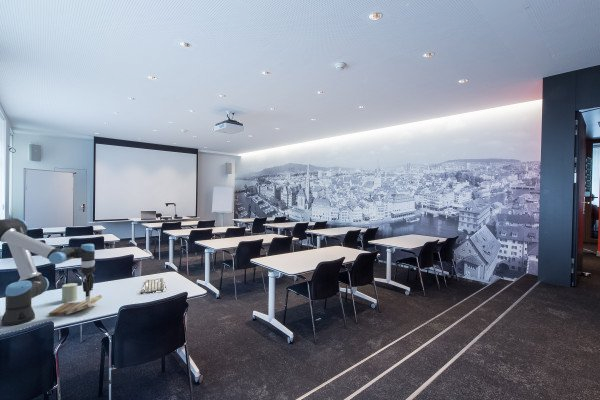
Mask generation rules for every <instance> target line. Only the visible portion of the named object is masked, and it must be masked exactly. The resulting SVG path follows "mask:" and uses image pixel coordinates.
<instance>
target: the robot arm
mask: <svg viewBox="0 0 600 400" xmlns="http://www.w3.org/2000/svg"><path fill="white" fill-rule="evenodd" d="M28 230H29V225H28V223H27V221H25V220H23V219H21V218H18V217H17V218H14V217H13V218H11V217H10V218H4V219H0V242H1V243H5V244H7V246H8V248H9V250H10V254H11V256H12V259H13V261H14V264H15V266H16V270H17V271H18V274H19V277H20V278H19V279H18V281H15V282H12V283H10V284H8V285H7V286H6V288H5V291H4V294H5V310H4V313H3V316H2V318H1V320H0V325H1V326H3V327H4V326H6V327H7V326H8V327H9V326H18V325H22V324H25V323H28V322H30V321H33V320H34V319H36V313H35V311H34V309H33V306H32V299H33V298H36V297H38V296H40V295H42V294H44V293H45V292H46V291H47V290H48V288H49V286H50V282H49V280H48V278H47V277H45V276H43V274H42V272H39V271H38V270H37V267H36V264H35V262H34V259H33V256H32V253H33V254H34V255H38V256H41V257H42V258H45V259H47V260H48V261H49V263H50V264H52V265H59V264H62V263H65V262H67V261H69V260H72V259H80V267H81V268H80V269H81V271H80V272H81V274H83V278H81V283H82V290H83V293H85V300H86V301H90V300H91V298H92V291H93V290H94V279H95V276H96V275H95V274H94V272H95V270H96V267H95V264H96V261H95V257H96V256H95V255H96V254H95V251H96V250H95V244H94V243H84V244H80V247H70V246H69V247H63V248H61V249H59V248H57V247H54V246H52V245H50V244H47V243H45V242H43V241H41V240H37V239H35V238H34V237H31V236H28V234H27V232H28Z"/></svg>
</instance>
